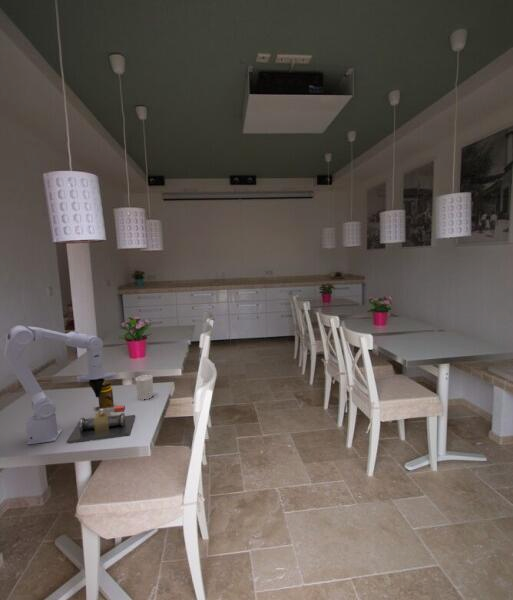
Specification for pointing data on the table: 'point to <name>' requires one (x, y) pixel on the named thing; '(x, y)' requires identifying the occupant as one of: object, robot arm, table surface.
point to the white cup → (144, 386)
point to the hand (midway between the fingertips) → (98, 396)
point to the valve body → (102, 427)
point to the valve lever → (111, 409)
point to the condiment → (105, 397)
